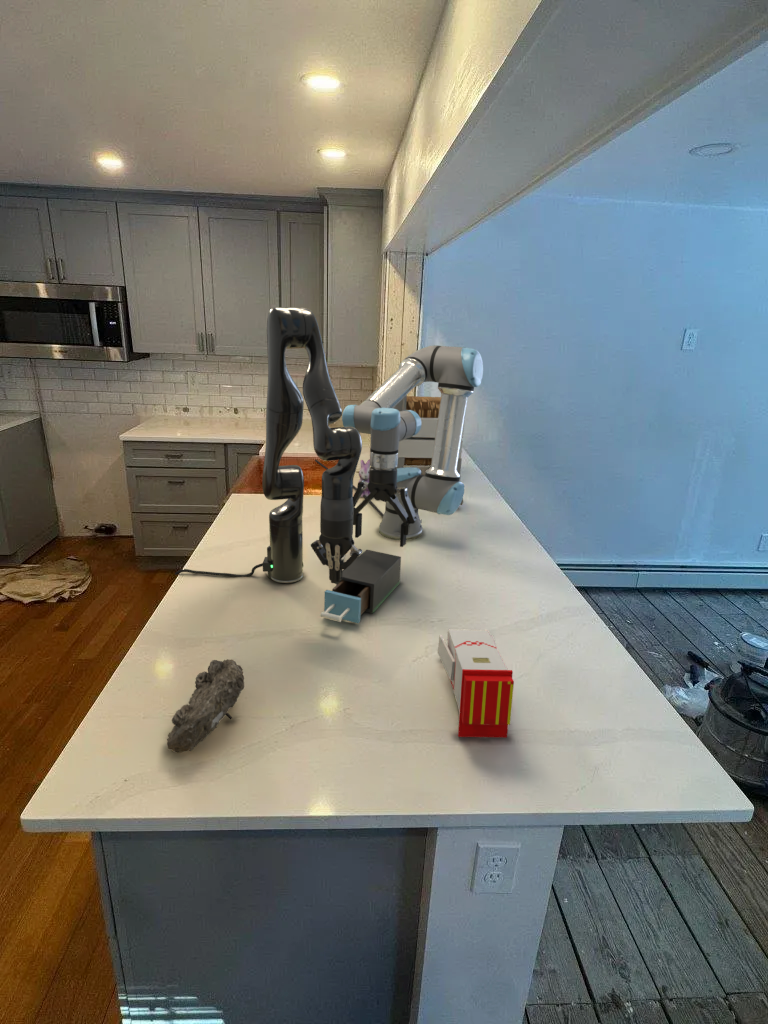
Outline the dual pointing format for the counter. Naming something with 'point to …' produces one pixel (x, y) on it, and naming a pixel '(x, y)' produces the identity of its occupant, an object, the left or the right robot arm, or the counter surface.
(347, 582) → the drawer
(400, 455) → the light grey slatted crate
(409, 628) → the counter surface
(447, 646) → the toy
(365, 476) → the figurine
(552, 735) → the counter surface
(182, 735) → the fossil
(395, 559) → the cabinet
